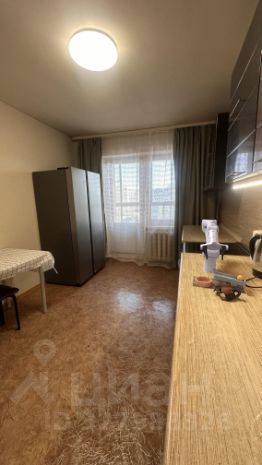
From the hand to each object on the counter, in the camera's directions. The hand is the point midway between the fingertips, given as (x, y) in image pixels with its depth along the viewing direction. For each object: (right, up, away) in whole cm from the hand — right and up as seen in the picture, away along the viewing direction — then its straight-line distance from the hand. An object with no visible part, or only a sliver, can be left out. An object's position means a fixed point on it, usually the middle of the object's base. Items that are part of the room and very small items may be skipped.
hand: (214, 258), depth 109 cm
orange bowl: (-6, -14, +2) cm, 15 cm away
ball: (+11, -10, -5) cm, 15 cm away
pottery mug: (+1, -18, -12) cm, 22 cm away
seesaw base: (+2, -15, +1) cm, 15 cm away
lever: (+7, -12, +1) cm, 14 cm away
